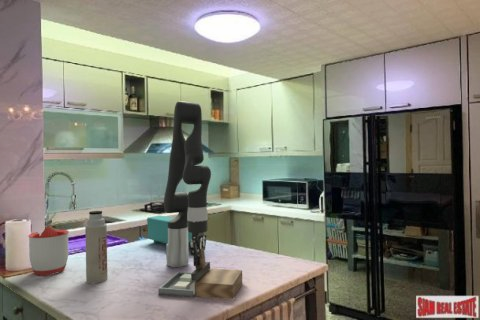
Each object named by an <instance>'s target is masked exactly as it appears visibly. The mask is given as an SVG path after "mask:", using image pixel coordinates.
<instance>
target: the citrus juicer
mask: <svg viewBox="0 0 480 320" xmlns="http://www.w3.org/2000/svg"><path fill="white" fill-rule="evenodd" d="M27 236H28V240H29V241H28V250H29V251H28V252H29V253H28V255H29V263H30V266H31V270H32V271H33V273H34V275H35V276H36V275H37V276H41V277H46V276H49V275H53V274H58V273H62V272H63V271H64V270H65V269H66V266H67V263H68V258H69V230H67V229H54V228H53V227H51V226H46V228H45V229H44V230H43V231H42V232H41V234H40V233H39V232H31V233H30V234H28V235H27Z"/></svg>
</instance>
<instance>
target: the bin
mask: <svg viewBox="0 0 480 320" xmlns="http://www.w3.org/2000/svg"><path fill="white" fill-rule="evenodd" d="M191 273H192V272H186V271H185V272H184V271H177V272H176V273H174V274H173V275H172V276H171V277H170V278H169V279H167V281H165V282H164V283H162V284H161V285H160V286H159V287H158V289H157V290H158V293H157V294H158V296H162V297H163V296H164V297H177V298H189V299H190V298H191V299H193V298H194V297H196V296H195V283H194V282H195V281H193V282H192V283H191V284H190V288H189V289H188V290H187V289H174V285H176V284H177V283H178V282H179V281H180V277H181V276H182V275H184V274H191Z"/></svg>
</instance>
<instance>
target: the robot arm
mask: <svg viewBox="0 0 480 320" xmlns="http://www.w3.org/2000/svg"><path fill="white" fill-rule="evenodd" d="M202 112H203V111H202V106H201V105H200V104H199V103H198V102H190V101H182V100H178V101H177V102H176V103H175V105H174V111H173V127H172V140H171V146H170V147H171V148H170V156H169V164H168V176H167V181H166V187H165V193H164V197H163V210H164V212H166V213H168V214H175V213H177V215H176V216H175V217H172V218H173V219H172V220H170V221H169V222H168V244H167V243H166V245H165V247H166V250H165V251H166V252H165V253H166V255H165V256H166V266H169V267H171V268H181V267H182V268H183V267H186V266H187V265H189V263H190V262H189V253H190V256H191V257H193V266H194V267H195V266H200V250H201V248H204V251H206V246H207V234H205V233H206V232H208V230H209V221H208V207H207V206H208V204H207V203H208V202H207V201H208V200H207V199H208V195H207V194H208V188H209V184H210V181H211V176H212V171H211V168H210V167H209V166H208V165H200V164H202V163H203V162H204V158H205V156H204V150H203V142H202V141H203V140H202V129H203V127H202V126H203V125H202V124H203V123H202V122H203V121H202V120H203V117H202V115H203V114H202ZM182 124H185V125H193V128H192V130H191V132H190V133H189V134H188V136H187V137H186V138H185V136H184V133H183V129H182ZM182 180H183V183H185V184H186V185H189V186H190V185H200V186H199V188H198V189H195V190H191V191H189V192H188V193H187V192H185V191H177V188H178V185H179V184H180V182H181V181H182ZM176 191H177V192H176ZM188 232H191V233H192V237H191V242H189V243H188ZM188 245H189V250H188ZM197 250H198V251H197Z"/></svg>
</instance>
